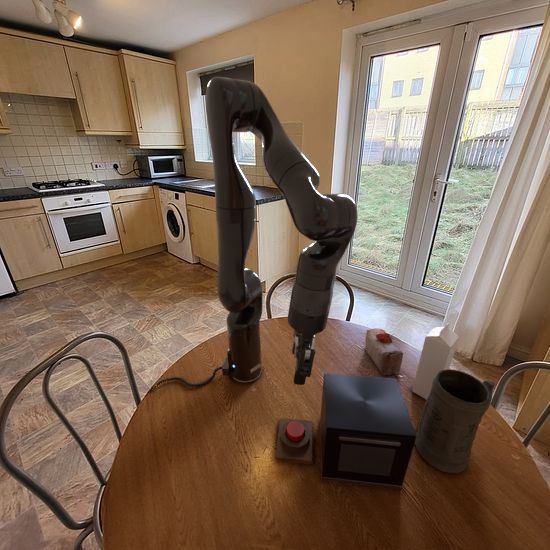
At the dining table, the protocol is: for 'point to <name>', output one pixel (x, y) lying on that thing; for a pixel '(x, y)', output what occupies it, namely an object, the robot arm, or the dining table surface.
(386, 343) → the food item
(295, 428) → the button
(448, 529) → the dining table surface
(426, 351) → the milk
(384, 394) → the oven
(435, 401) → the beer stein
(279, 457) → the housing
